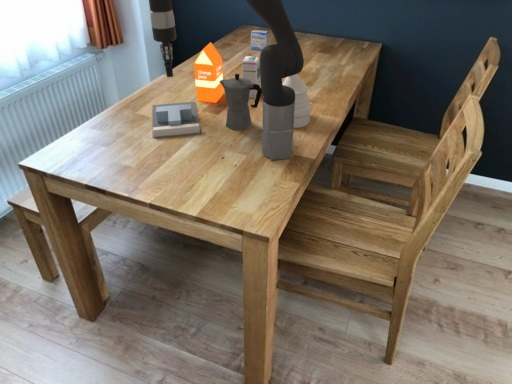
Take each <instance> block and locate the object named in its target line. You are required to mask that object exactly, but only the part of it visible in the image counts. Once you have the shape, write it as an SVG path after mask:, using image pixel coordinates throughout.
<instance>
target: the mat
mask: <svg viewBox="0 0 512 384" xmlns="http://www.w3.org/2000/svg"><path fill="white" fill-rule="evenodd" d="M185 104H191V111H192V119H191V120H181V125H184V124H195V123H199V127H200V133H191V134H181V135H170V136H159V137H154V133H153V132H152V139H154V140H155V139H165V138H176V137H185V136H186V137H187V136H195V135H196V136H197V135H202V134H203V133H202V128H201V123H200V119H199V113H198V107H197V102H196V101H185V102H173V103H172V102H171V103H163V104H162V103H161V104H153V105H152V108H151V109H152V128H153V127H162V126H169V121H168V122H157V115H156V107H161V106H173V105H185Z"/></svg>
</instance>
